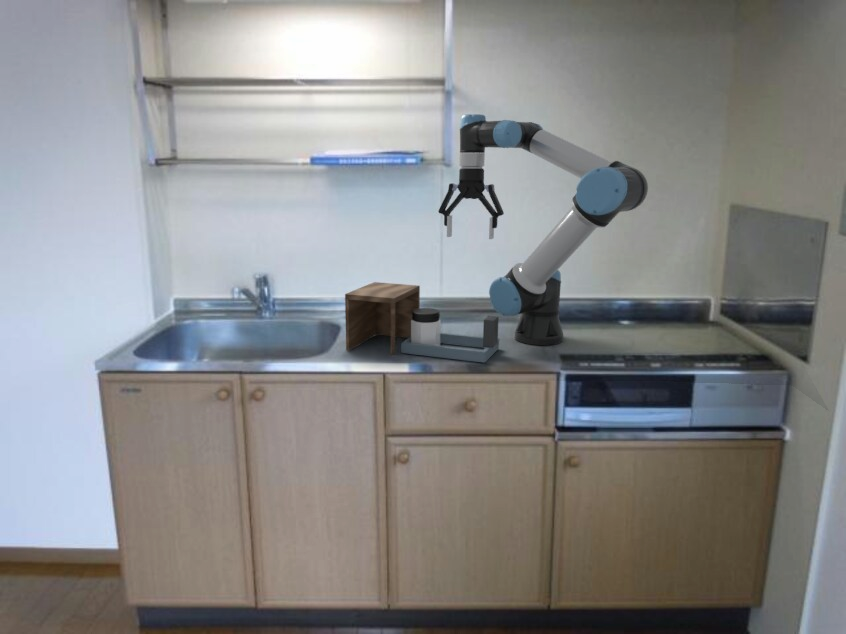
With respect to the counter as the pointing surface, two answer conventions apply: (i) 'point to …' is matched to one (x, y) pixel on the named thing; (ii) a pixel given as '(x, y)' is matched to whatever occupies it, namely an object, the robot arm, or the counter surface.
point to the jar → (426, 326)
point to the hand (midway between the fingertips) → (470, 237)
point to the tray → (487, 342)
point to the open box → (380, 312)
